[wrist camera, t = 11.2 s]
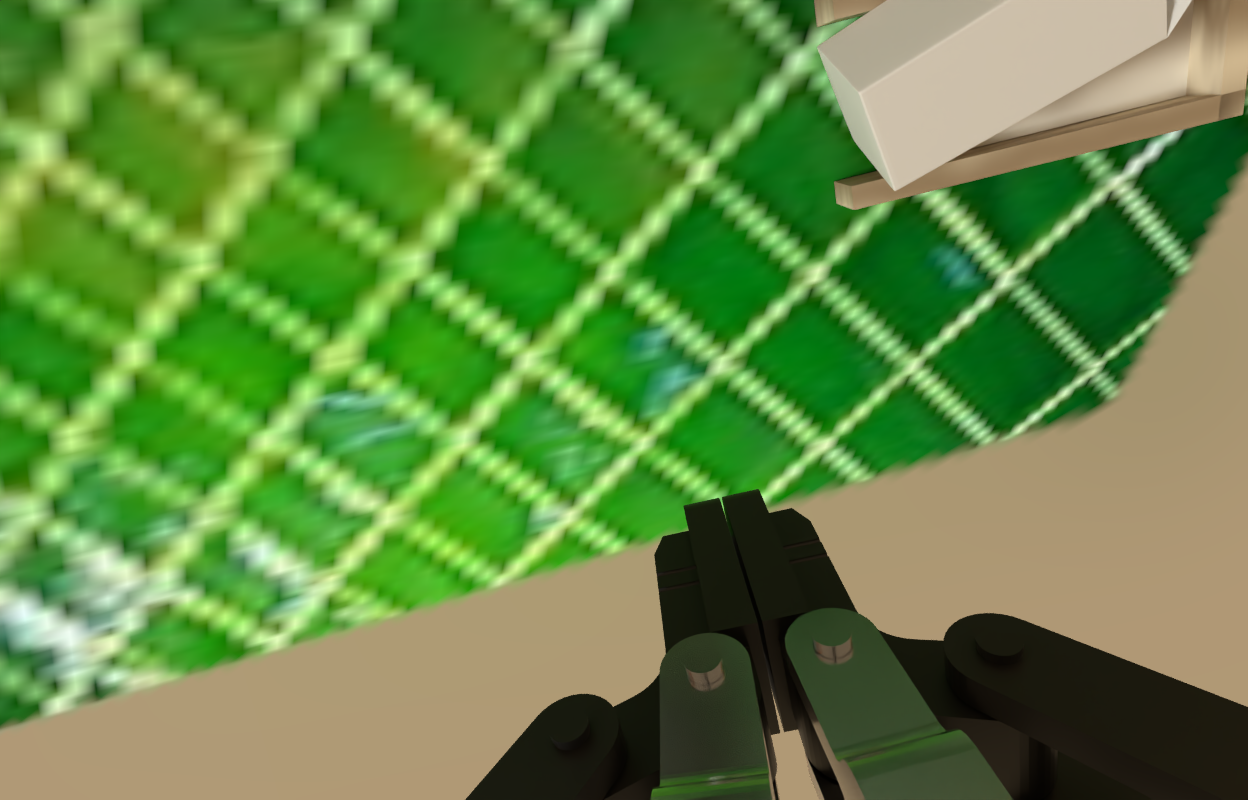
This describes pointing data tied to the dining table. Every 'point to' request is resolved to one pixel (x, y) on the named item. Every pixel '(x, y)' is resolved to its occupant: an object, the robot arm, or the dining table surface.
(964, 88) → the milk carton
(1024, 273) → the dining table surface
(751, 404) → the dining table surface
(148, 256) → the dining table surface
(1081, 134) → the u rest
